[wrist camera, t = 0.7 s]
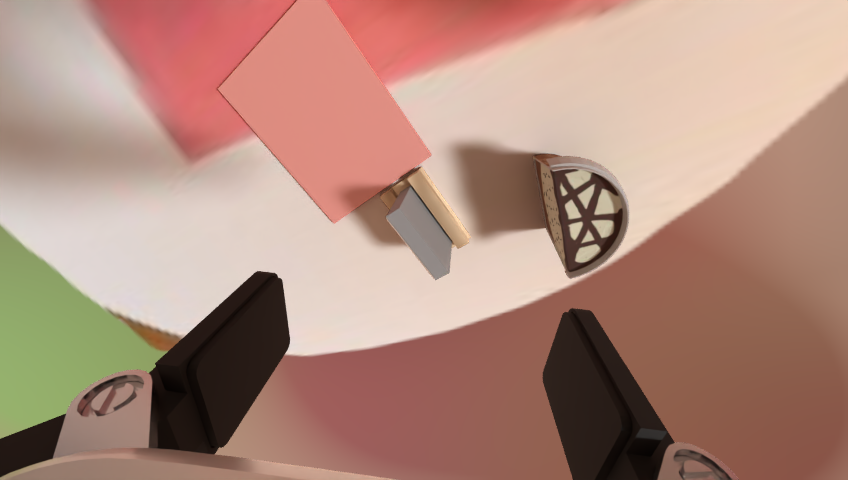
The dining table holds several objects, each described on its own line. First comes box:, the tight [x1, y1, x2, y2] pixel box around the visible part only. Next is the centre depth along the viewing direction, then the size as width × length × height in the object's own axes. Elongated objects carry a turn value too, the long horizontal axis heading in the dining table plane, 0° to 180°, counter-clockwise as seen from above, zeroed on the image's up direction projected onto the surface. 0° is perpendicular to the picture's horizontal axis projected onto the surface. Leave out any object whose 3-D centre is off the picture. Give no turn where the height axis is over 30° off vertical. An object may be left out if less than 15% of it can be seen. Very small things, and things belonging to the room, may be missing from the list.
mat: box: [218, 0, 431, 223], centre depth 37 cm, size 16×20×1 cm
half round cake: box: [533, 154, 629, 279], centre depth 33 cm, size 12×6×10 cm, turn 18°
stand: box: [380, 167, 471, 249], centre depth 40 cm, size 6×11×2 cm, turn 36°
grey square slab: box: [386, 185, 452, 280], centre depth 37 cm, size 2×9×8 cm, turn 36°
